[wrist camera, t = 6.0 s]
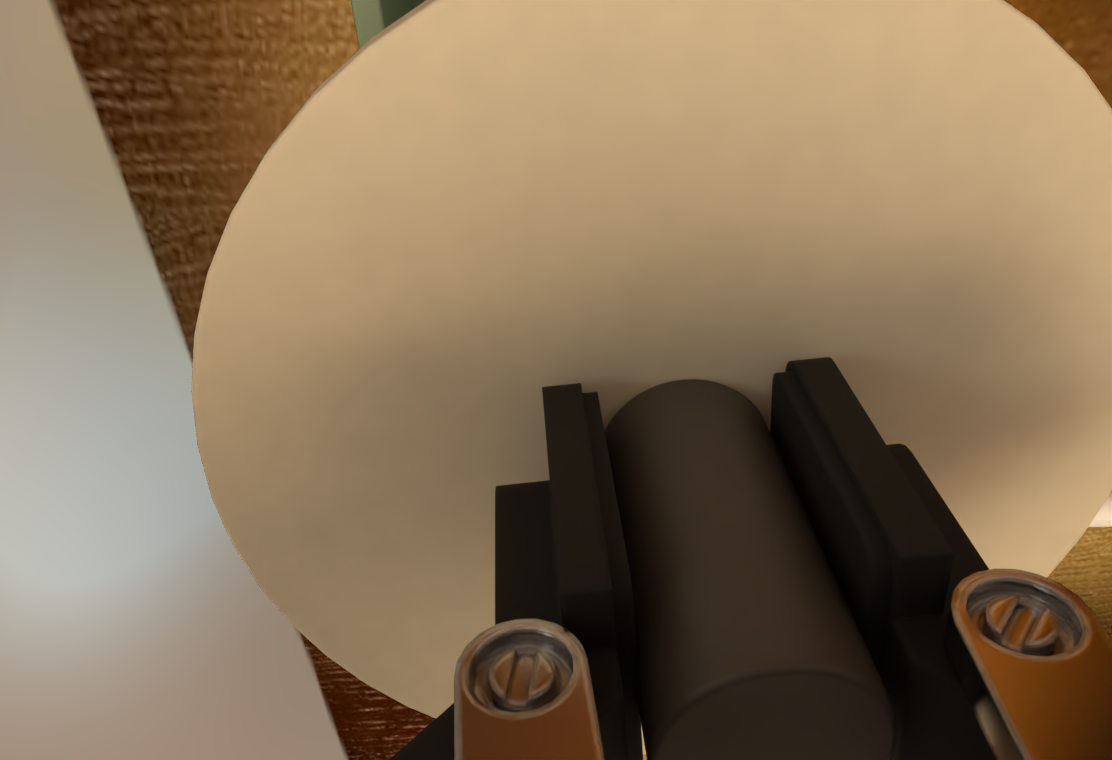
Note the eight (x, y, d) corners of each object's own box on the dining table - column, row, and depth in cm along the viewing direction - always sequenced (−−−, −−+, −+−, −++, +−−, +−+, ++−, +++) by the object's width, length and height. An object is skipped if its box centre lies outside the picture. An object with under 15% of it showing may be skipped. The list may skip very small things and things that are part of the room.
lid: (326, 735, 17) (252, 1131, 12) (72, -26, 11) (-358, 126, 5) (1027, 661, 18) (1258, 1024, 12) (1235, -147, 11) (1983, -118, 5)
